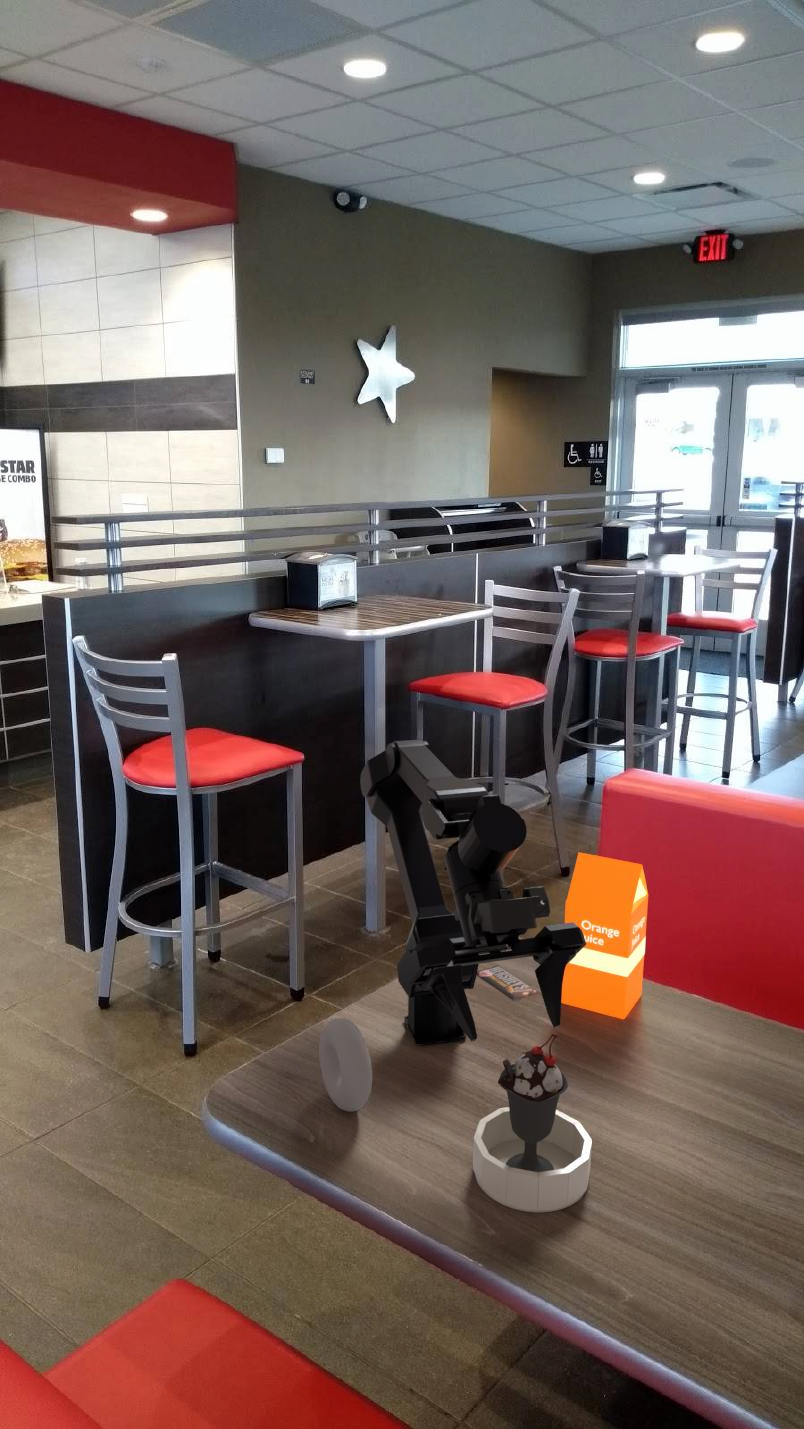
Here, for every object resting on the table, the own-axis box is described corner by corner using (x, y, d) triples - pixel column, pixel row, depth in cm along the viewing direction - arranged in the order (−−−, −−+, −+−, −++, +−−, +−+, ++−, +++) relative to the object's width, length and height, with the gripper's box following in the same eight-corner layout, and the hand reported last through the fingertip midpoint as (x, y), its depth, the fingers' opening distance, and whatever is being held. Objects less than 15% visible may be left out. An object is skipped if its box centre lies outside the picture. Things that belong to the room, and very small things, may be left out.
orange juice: (624, 1020, 138) (633, 874, 133) (559, 1002, 142) (566, 861, 138) (642, 994, 145) (652, 855, 140) (580, 978, 149) (587, 842, 144)
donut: (377, 1125, 116) (377, 1041, 113) (347, 1133, 114) (347, 1048, 112) (342, 1077, 125) (342, 999, 122) (314, 1084, 123) (313, 1005, 121)
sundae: (576, 1170, 108) (584, 1036, 104) (533, 1201, 103) (539, 1061, 100) (526, 1140, 113) (532, 1011, 109) (483, 1168, 108) (487, 1034, 105)
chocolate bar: (468, 973, 151) (468, 968, 151) (496, 965, 153) (496, 960, 153) (516, 1007, 142) (516, 1002, 142) (545, 998, 144) (545, 993, 144)
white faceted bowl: (495, 1220, 101) (497, 1184, 101) (460, 1147, 112) (461, 1113, 111) (607, 1202, 104) (609, 1166, 103) (562, 1132, 115) (564, 1099, 114)
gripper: (415, 870, 108) (451, 1024, 100) (582, 851, 113) (628, 996, 106) (391, 911, 117) (422, 1055, 109) (547, 892, 122) (587, 1028, 115)
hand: (516, 1033), depth 110 cm, fingers open, 9 cm apart
